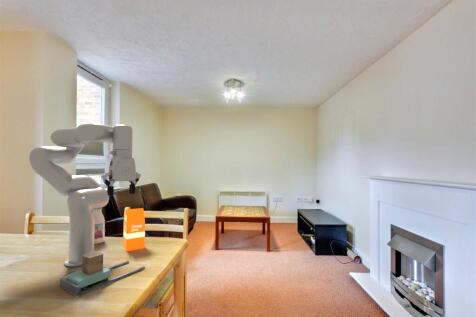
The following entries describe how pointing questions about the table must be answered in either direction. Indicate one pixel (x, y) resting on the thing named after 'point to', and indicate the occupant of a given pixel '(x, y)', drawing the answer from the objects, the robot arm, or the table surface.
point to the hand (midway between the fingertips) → (121, 194)
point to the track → (76, 288)
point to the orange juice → (134, 229)
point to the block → (92, 263)
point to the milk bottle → (99, 226)
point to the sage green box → (89, 277)
